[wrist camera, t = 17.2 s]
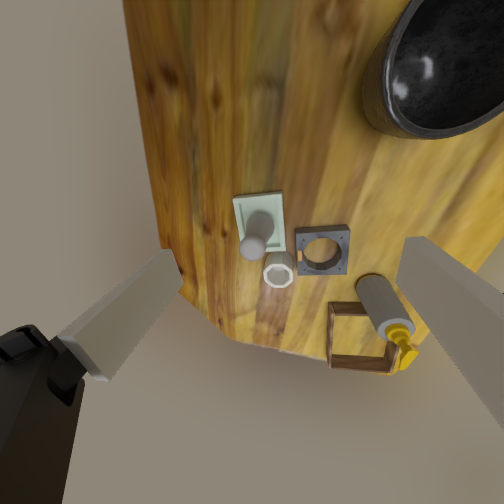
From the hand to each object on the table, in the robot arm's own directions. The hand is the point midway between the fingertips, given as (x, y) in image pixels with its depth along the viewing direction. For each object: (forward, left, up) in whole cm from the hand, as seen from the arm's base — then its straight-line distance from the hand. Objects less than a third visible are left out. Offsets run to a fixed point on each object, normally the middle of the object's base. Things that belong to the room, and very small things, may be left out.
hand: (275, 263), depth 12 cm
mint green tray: (+8, -6, -30) cm, 32 cm away
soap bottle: (+25, +17, -31) cm, 43 cm away
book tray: (+40, +16, -30) cm, 53 cm away
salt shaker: (+8, -6, -30) cm, 31 cm away
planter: (-11, +17, -31) cm, 37 cm away
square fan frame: (+15, +6, -30) cm, 34 cm away
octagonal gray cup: (+18, -3, -30) cm, 35 cm away
